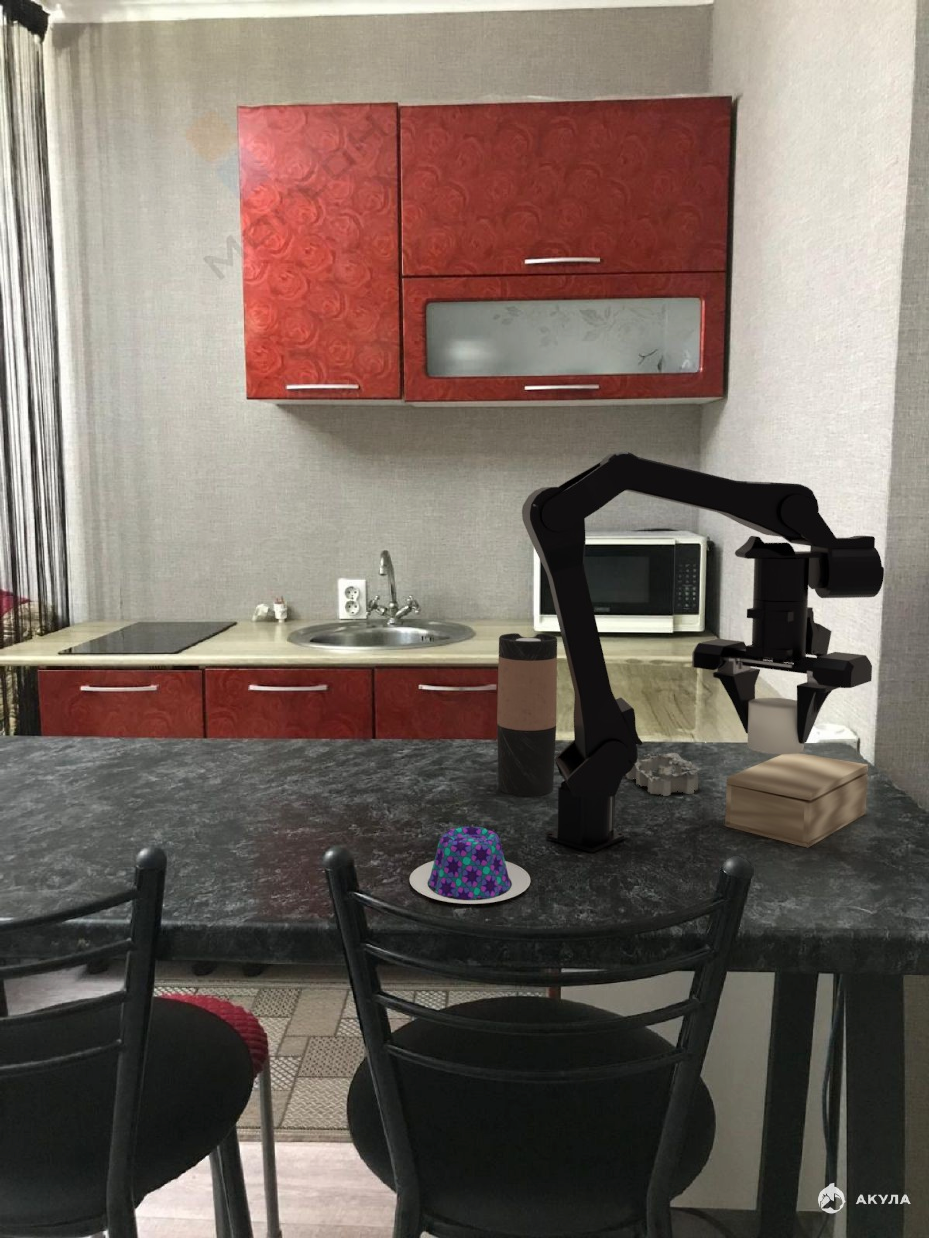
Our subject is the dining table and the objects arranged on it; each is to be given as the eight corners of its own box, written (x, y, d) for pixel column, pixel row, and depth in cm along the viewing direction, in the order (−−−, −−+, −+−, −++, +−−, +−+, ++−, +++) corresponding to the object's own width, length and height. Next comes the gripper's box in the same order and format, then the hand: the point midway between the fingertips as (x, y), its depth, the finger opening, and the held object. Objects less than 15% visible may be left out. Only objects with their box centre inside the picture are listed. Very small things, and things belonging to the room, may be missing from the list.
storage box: (807, 847, 108) (810, 803, 108) (725, 826, 115) (726, 784, 115) (865, 813, 120) (867, 773, 119) (787, 795, 127) (789, 758, 126)
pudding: (551, 899, 95) (552, 846, 94) (435, 919, 90) (435, 864, 90) (499, 856, 106) (500, 809, 105) (393, 872, 101) (392, 823, 101)
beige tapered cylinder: (787, 757, 106) (789, 711, 106) (737, 747, 111) (738, 703, 110) (813, 746, 111) (814, 703, 110) (763, 737, 115) (765, 695, 114)
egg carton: (619, 775, 136) (620, 746, 136) (670, 772, 138) (671, 744, 137) (650, 799, 126) (651, 767, 125) (705, 795, 128) (706, 764, 127)
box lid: (810, 800, 108) (810, 793, 108) (726, 784, 115) (726, 777, 114) (867, 771, 119) (868, 764, 119) (788, 757, 126) (789, 751, 126)
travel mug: (525, 801, 124) (528, 643, 121) (484, 787, 130) (485, 636, 127) (567, 789, 129) (570, 637, 126) (525, 776, 135) (528, 630, 132)
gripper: (896, 598, 108) (889, 739, 110) (740, 588, 121) (737, 713, 123) (851, 608, 100) (845, 759, 102) (690, 595, 113) (688, 729, 115)
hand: (775, 738), depth 110 cm, fingers closed on beige tapered cylinder, 6 cm apart
